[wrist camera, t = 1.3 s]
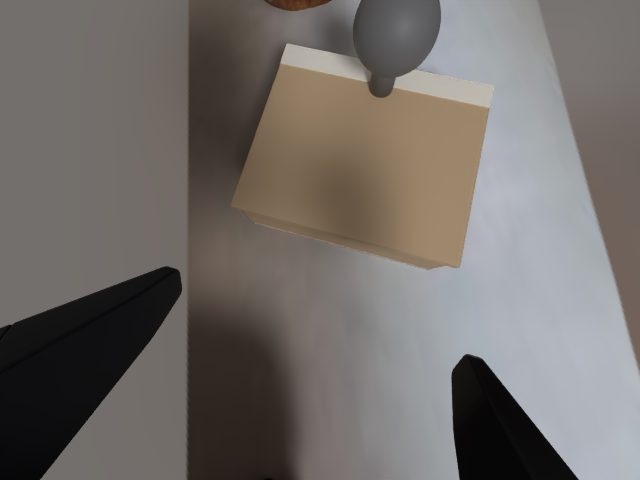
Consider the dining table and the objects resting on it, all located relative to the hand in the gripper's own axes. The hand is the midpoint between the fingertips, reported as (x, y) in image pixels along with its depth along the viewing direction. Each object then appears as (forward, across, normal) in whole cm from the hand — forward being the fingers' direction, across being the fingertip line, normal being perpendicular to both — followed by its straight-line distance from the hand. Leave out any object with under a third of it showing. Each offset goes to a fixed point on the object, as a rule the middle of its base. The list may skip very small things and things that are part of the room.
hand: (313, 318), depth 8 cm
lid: (+13, 0, -2) cm, 13 cm away
